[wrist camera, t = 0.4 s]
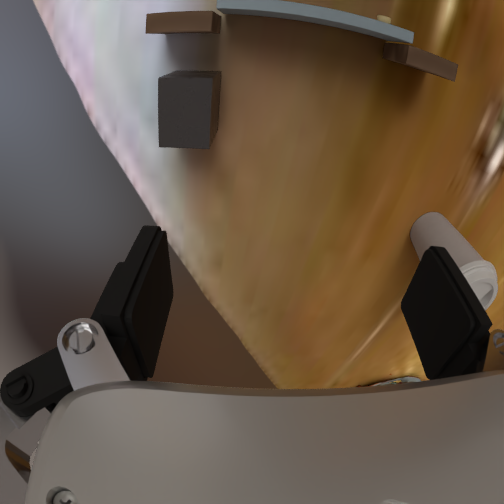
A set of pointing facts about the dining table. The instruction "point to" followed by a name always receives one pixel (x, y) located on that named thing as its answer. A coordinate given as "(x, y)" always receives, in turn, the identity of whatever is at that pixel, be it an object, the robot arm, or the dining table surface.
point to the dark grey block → (188, 108)
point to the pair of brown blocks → (211, 24)
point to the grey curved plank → (318, 17)
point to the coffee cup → (456, 254)
